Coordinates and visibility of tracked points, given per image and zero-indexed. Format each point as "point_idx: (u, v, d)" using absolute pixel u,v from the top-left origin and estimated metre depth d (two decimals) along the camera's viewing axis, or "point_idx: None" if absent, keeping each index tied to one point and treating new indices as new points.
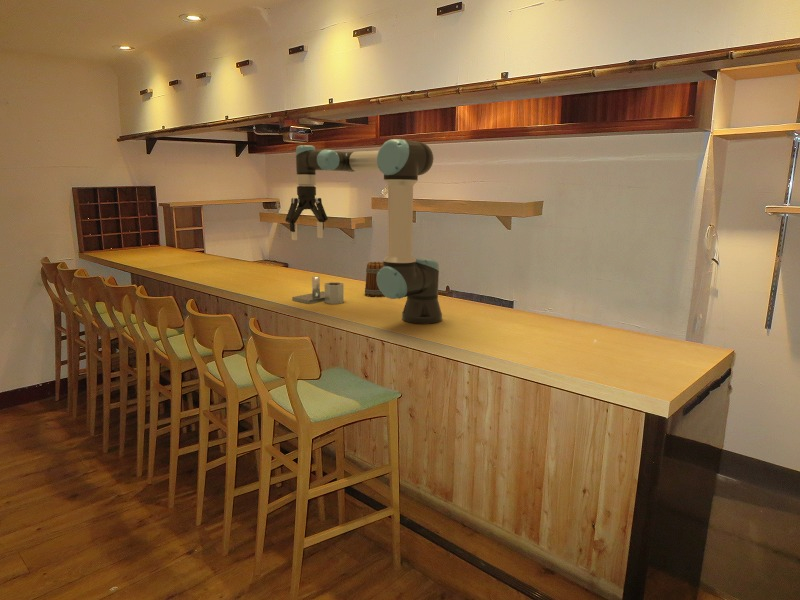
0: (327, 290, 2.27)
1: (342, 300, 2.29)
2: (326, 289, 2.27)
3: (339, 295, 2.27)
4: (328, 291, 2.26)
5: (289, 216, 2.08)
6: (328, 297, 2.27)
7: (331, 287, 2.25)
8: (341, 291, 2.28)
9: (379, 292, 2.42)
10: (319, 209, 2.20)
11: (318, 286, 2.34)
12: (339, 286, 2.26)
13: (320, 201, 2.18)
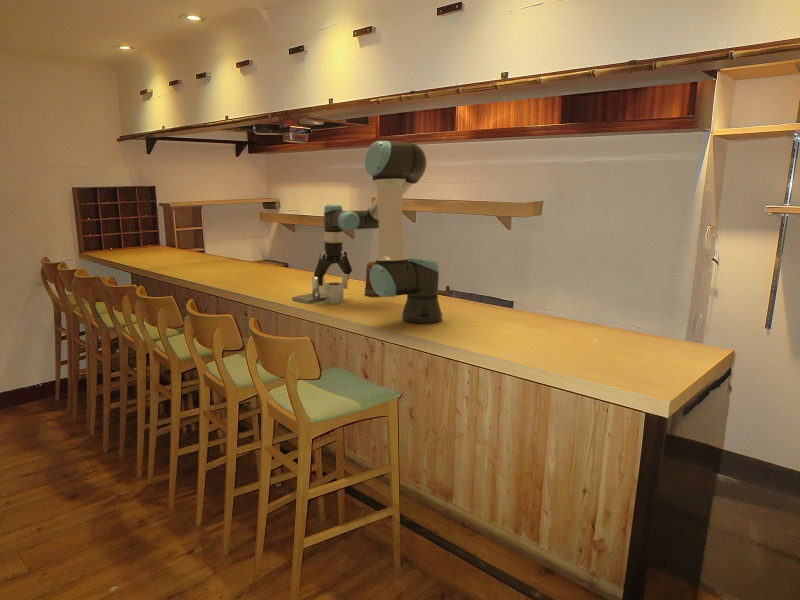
0: (327, 290, 2.27)
1: (342, 300, 2.29)
2: (326, 289, 2.27)
3: (339, 295, 2.27)
4: (328, 291, 2.26)
5: (317, 271, 2.21)
6: (328, 297, 2.27)
7: (331, 287, 2.25)
8: (341, 291, 2.28)
9: None
10: (344, 262, 2.33)
11: (318, 286, 2.34)
12: (339, 286, 2.26)
13: (345, 255, 2.31)
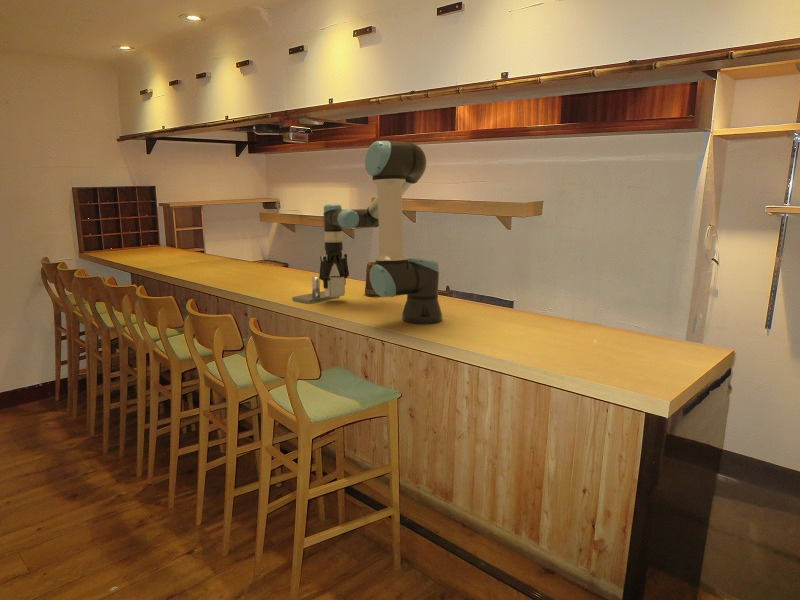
0: None
1: (343, 293, 2.28)
2: None
3: (340, 287, 2.26)
4: None
5: (322, 274, 2.22)
6: None
7: (332, 279, 2.24)
8: (342, 284, 2.26)
9: None
10: (343, 264, 2.32)
11: (318, 286, 2.34)
12: (340, 278, 2.25)
13: (346, 257, 2.31)
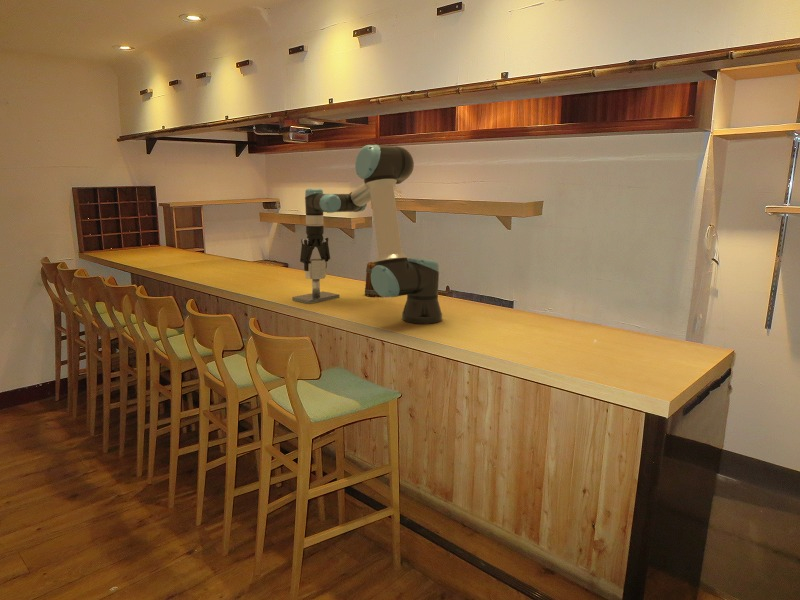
0: None
1: (323, 275, 2.33)
2: None
3: (320, 270, 2.31)
4: None
5: (303, 257, 2.27)
6: None
7: (312, 262, 2.29)
8: (322, 266, 2.31)
9: None
10: (324, 248, 2.36)
11: (318, 286, 2.34)
12: (320, 261, 2.30)
13: (327, 240, 2.35)
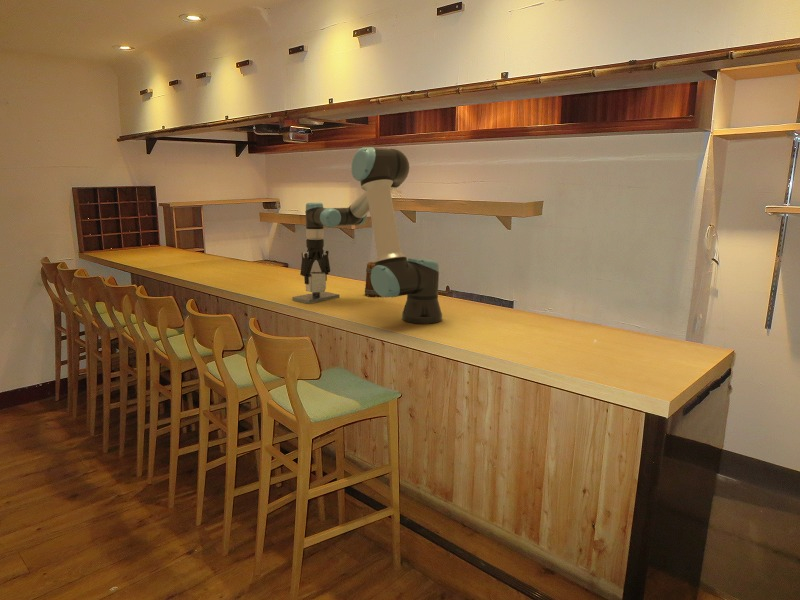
0: None
1: (324, 288, 2.34)
2: None
3: (320, 283, 2.32)
4: None
5: (303, 271, 2.28)
6: None
7: (312, 276, 2.30)
8: (322, 280, 2.33)
9: None
10: (324, 261, 2.38)
11: None
12: (320, 275, 2.31)
13: (327, 253, 2.36)
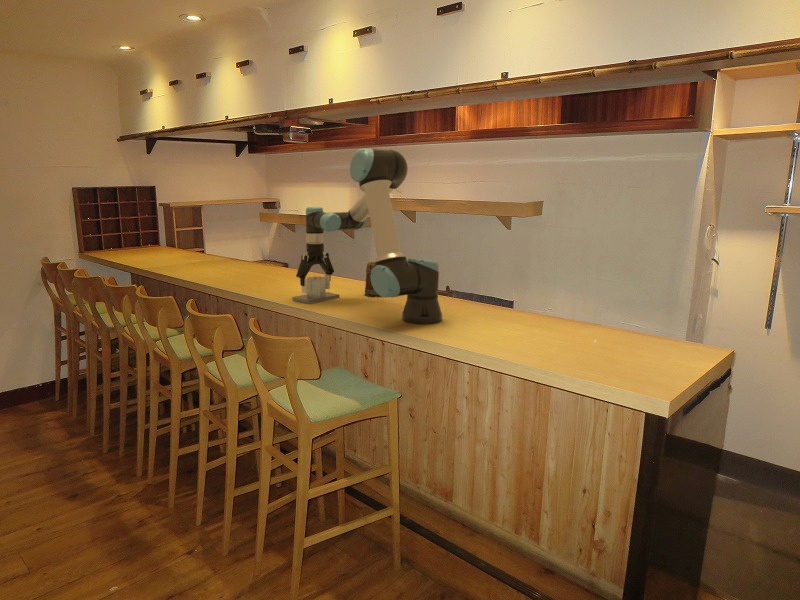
0: (309, 284, 2.32)
1: (324, 294, 2.34)
2: (308, 283, 2.32)
3: (320, 288, 2.32)
4: (310, 285, 2.32)
5: (299, 272, 2.27)
6: (310, 291, 2.32)
7: (313, 281, 2.31)
8: (323, 285, 2.33)
9: None
10: (326, 263, 2.39)
11: None
12: (321, 280, 2.32)
13: (327, 256, 2.37)
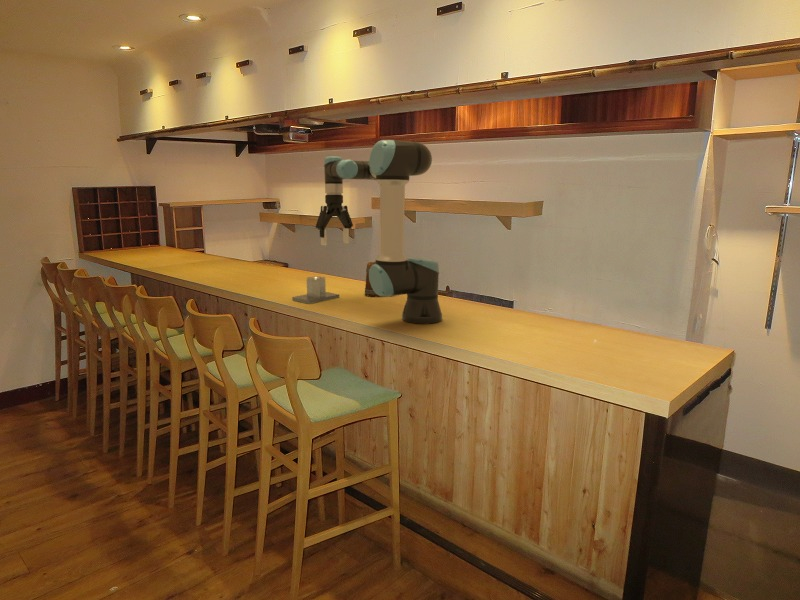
0: (309, 284, 2.32)
1: (324, 294, 2.34)
2: (308, 283, 2.32)
3: (320, 288, 2.32)
4: (310, 285, 2.32)
5: (319, 223, 2.21)
6: (310, 291, 2.32)
7: (313, 281, 2.31)
8: (323, 285, 2.33)
9: None
10: (345, 216, 2.34)
11: None
12: (321, 280, 2.32)
13: (346, 208, 2.32)
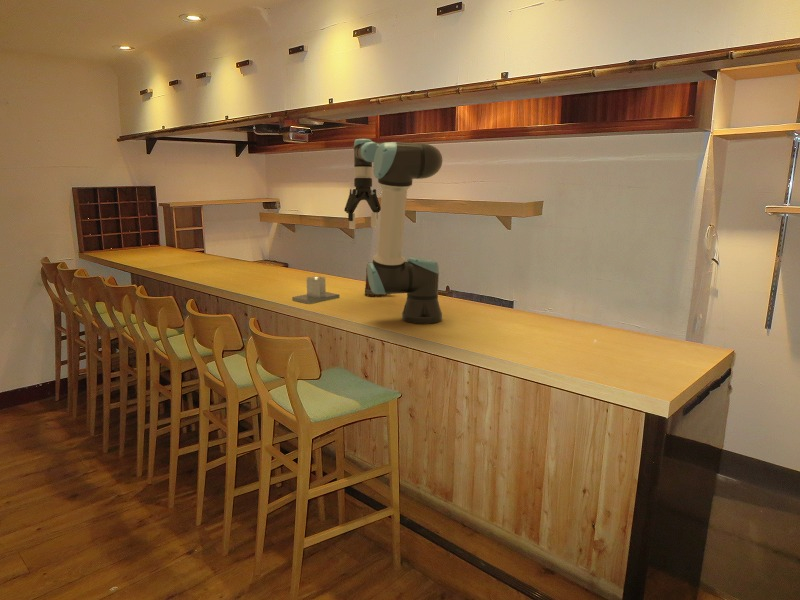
0: (309, 284, 2.32)
1: (324, 294, 2.34)
2: (308, 283, 2.32)
3: (320, 288, 2.32)
4: (310, 285, 2.32)
5: (348, 206, 2.19)
6: (310, 291, 2.32)
7: (313, 281, 2.31)
8: (323, 285, 2.33)
9: None
10: (373, 200, 2.31)
11: None
12: (321, 280, 2.32)
13: (375, 192, 2.29)
